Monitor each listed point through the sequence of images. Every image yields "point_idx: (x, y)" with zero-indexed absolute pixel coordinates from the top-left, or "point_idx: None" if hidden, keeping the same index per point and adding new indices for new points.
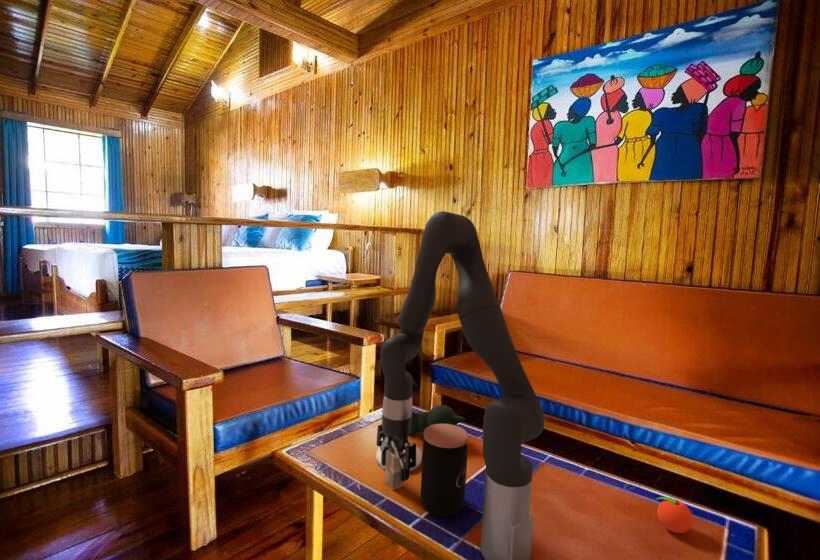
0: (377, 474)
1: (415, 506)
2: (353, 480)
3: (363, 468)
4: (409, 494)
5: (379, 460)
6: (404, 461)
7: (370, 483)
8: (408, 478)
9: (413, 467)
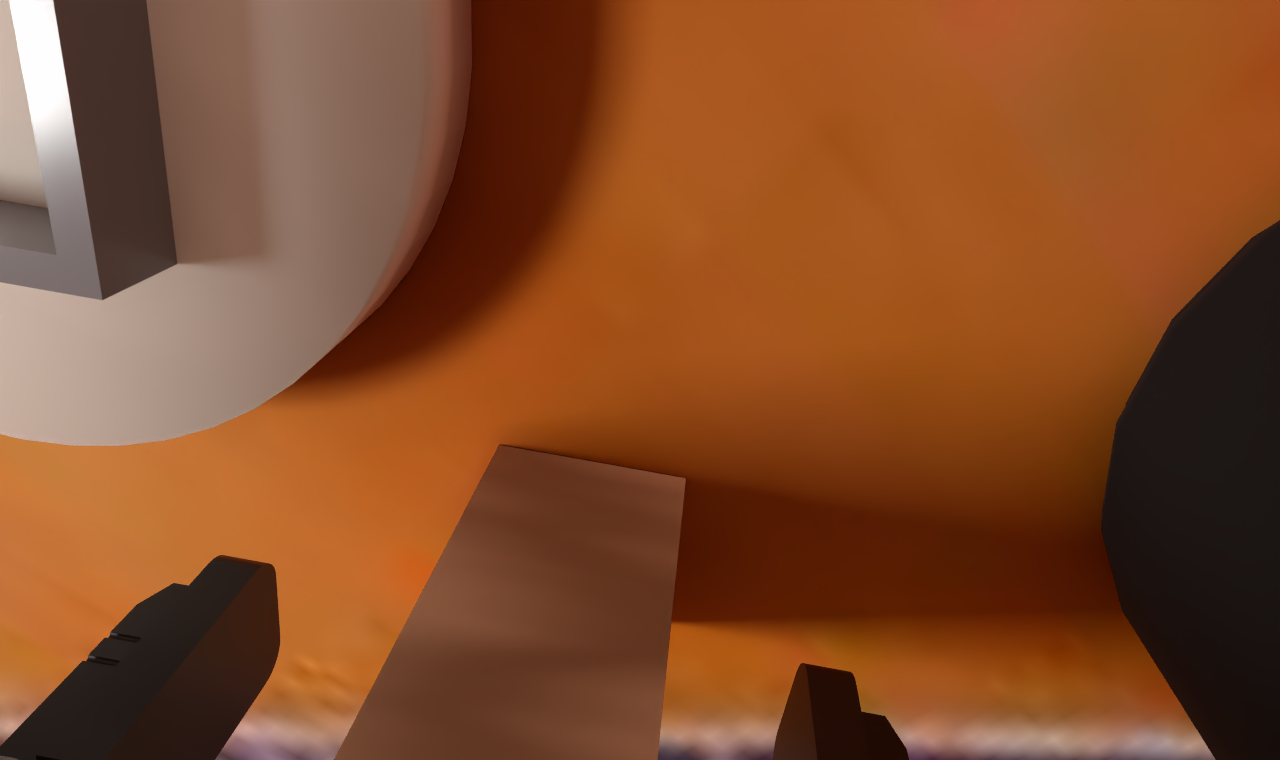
0: (265, 524)
1: (1100, 669)
2: (237, 747)
3: (58, 547)
4: (885, 557)
5: (20, 424)
6: (263, 160)
7: None
8: (886, 727)
9: (456, 54)
